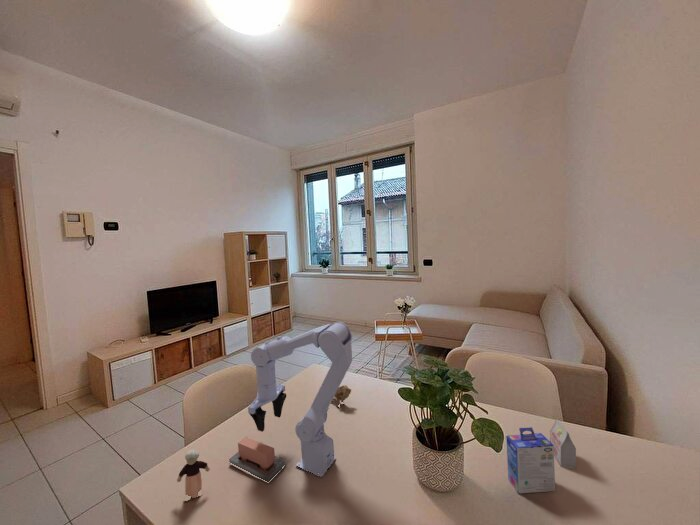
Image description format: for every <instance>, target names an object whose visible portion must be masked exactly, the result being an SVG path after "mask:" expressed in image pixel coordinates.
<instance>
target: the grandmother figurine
mask: <svg viewBox="0 0 700 525" xmlns="http://www.w3.org/2000/svg"><path fill="white" fill-rule="evenodd" d="M199 457H200V452H199V450H197V449H194V448H193V449H190V450H188V451H187V452H186V454H185V456H184V458H185V459H184V460H186V464H185V465H184V466H183V467H182V469H181V470H180V472H179V474H178V477H177V479H176V481H177V483H180V482H181V481H182V478H183V477H184V476H185V477H184V478H185V480H184V481H185V484H184V486H185V487H184V488H185V490H184V492H185V493H184V494H185V496H186V495H188V496H191V497H192V499H196V498H195V497H197V496H198V492H199V491H200V490H202V489H203V487H202V485H203V484H202V483H203V481H202V480H203V479H202V472H201V470H202V469H203V470H205V472H206V473H207V472H209V471H210V470H211V468H210V466H209V465H208V462H205V461H202V460H198V459H199ZM200 469H201V470H200Z"/></svg>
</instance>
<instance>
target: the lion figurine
mask: <svg viewBox="0 0 700 525" xmlns="http://www.w3.org/2000/svg"><path fill="white" fill-rule="evenodd" d="M351 393H352V389H351V388H349V387H348V385H347V384H346V385H345V384H344V385H342V386H339V388H338V390H337V392H336V394H335V396H334V398H335V399H336V403H337V406H338V405H339V404H340V405H341V402H343V403H344V401H345V400H346V399H348V398H349V397H350V396H349V395H351Z"/></svg>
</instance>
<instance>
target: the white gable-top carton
mask: <svg viewBox="0 0 700 525" xmlns="http://www.w3.org/2000/svg"><path fill="white" fill-rule="evenodd" d="M549 436H550V437H549V441H550V442H551V443H552V444H553V445H554V459H555V460H556V461H557V463H558V465H559V466H560V467H561V468H562V467H563V468H569V469H577V454H576V453H577V448H576V445H575V444H574V442H573V441H572V439H571V436H570V433H569V432H568V430H566V428H565V426H564V425H563V424H562V423H561V422H560V420H559V419H558V418H556V419H555V421H554V423H553V425H552V428H551V429H550V431H549Z"/></svg>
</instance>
